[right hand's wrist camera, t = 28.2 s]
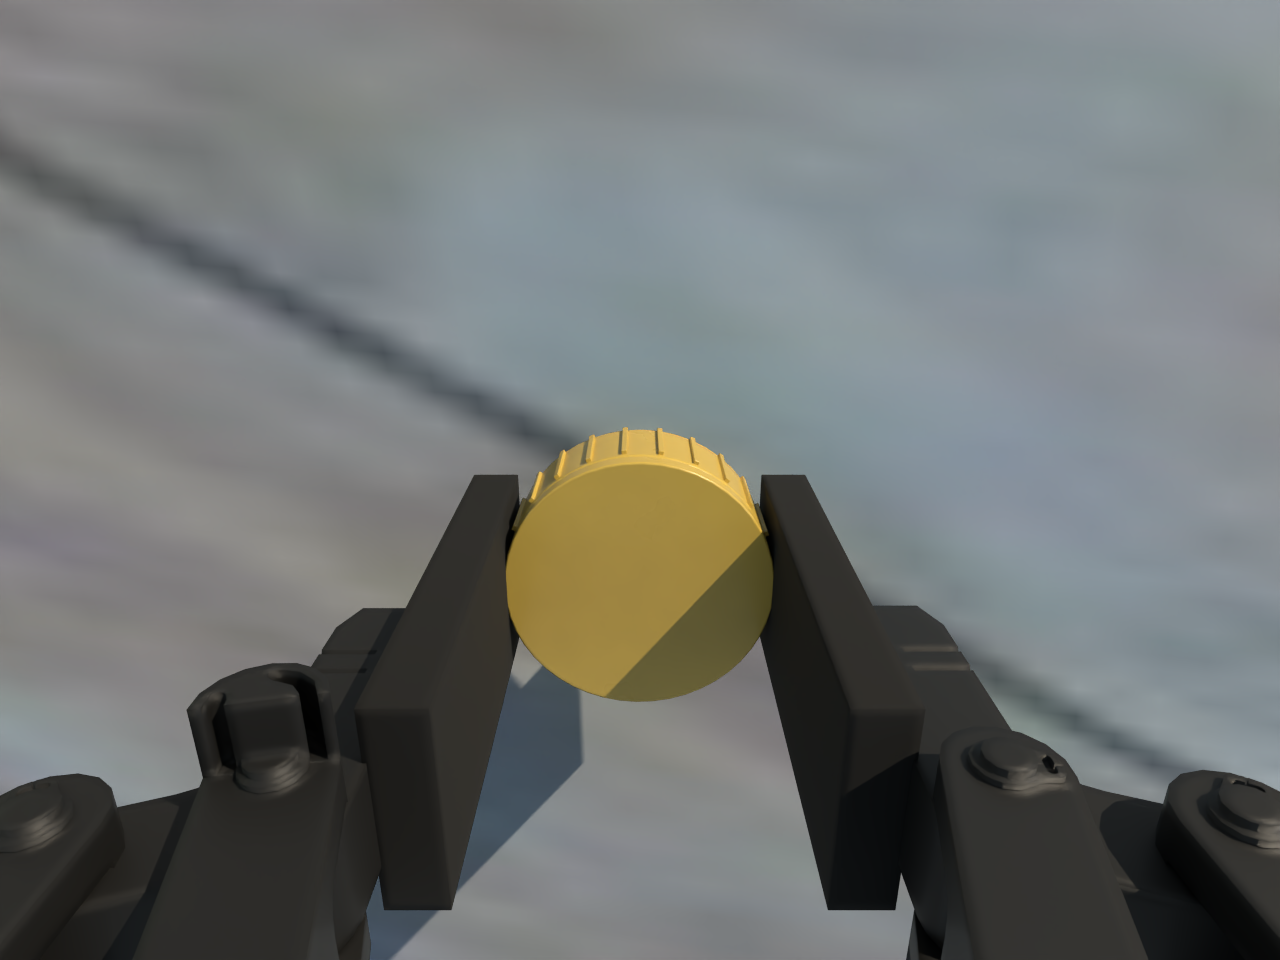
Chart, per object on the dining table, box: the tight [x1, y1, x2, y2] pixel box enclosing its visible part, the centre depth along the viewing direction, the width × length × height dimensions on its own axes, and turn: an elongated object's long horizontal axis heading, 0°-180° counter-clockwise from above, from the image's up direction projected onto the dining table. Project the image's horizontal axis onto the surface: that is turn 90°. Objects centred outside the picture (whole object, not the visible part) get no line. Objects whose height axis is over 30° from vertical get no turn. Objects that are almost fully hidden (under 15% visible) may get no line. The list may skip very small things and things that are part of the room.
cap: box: [506, 427, 774, 702], centre depth 14 cm, size 4×4×2 cm
